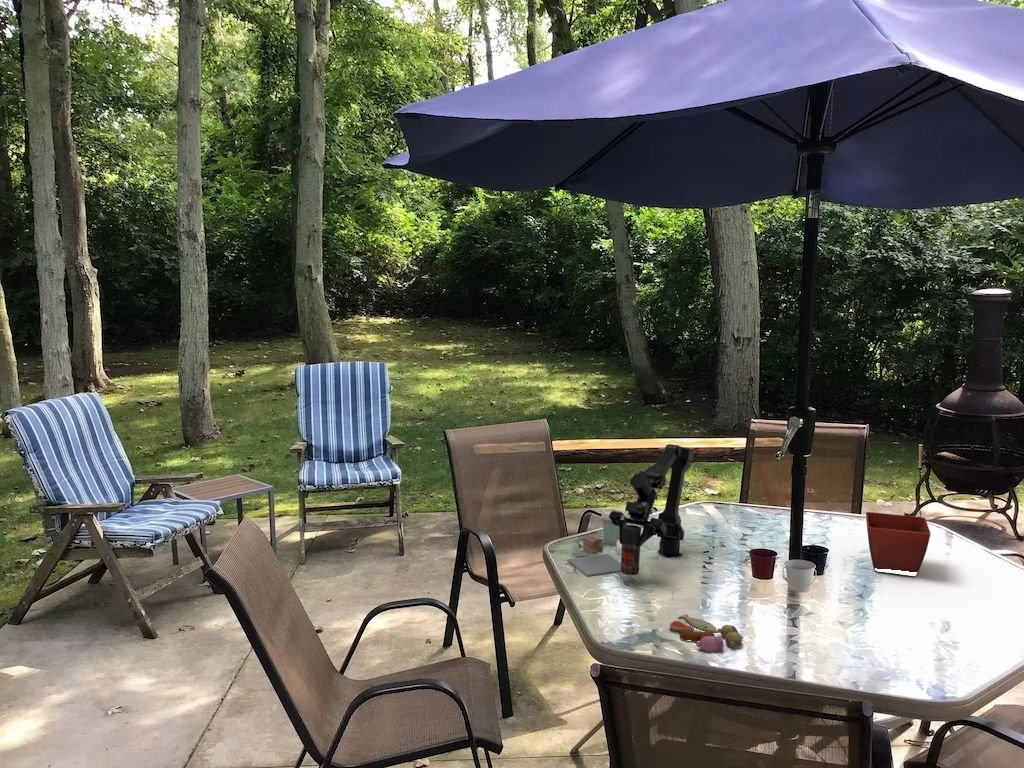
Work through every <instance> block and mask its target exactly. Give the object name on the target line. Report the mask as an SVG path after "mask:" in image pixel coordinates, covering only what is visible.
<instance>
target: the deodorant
mask: <svg viewBox="0 0 1024 768" xmlns="http://www.w3.org/2000/svg"><path fill="white" fill-rule="evenodd" d="M641 534H642V526H640V525H635V524H627V525H624V526H623V531H622V552H621V555H620V559H621V560H620V563H621V572H620V573H621V574H623V575H627V576H635V575H636V576H637V575H638V574H640V559H641V558H640V557H641V546H640V547H639V548H638V547H637V545H638V541H639V539H640V536H641Z"/></svg>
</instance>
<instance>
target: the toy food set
mask: <svg viewBox="0 0 1024 768" xmlns="http://www.w3.org/2000/svg"><path fill="white" fill-rule="evenodd" d="M678 619H684V620H685V621H686V622H687V623H688V624H689V625H690V626H688V625H687V624H686V622H685V621H682V620H673V621H672V622H670V624H669V632H670V631H671V632H670V633H673V632H675V633H674V634H677V633H680V634H679V638H681V639H683V640H691V641H700V642H695V643H696V644H695V645H696V647H697V648H700V649H701V651H703V650H705V651H715V652H723V651H724V647H725V646H724V643H725V645H726V646H727V645H728V646H727V647H729V646H731V647H738V646H739V647H741V645H742V642H743V636H742V635H741V634H740V633H739V631H738V629H737V627H736V626H734V625H732V624H723V625H722V627H721V628H719V627H718V628H716V626H715V625H713V623H711V622H709V621H706V620H703V619H699V618H695V617H691V616H689V615H688V614H683V615H680V616H679V617H678ZM684 622H685V623H684ZM691 626H692V627H691ZM693 627H694V628H696V629H699V630H702V631H705V632H699V631H697V630H695V629H694V628H693ZM676 632H677V633H676ZM713 633H717V634H720V635H721V636H720V635H719V636H718V635H717V636H716V634H713ZM723 637H724V638H726V639H725V640H723V639H724V638H723ZM681 639H680V640H681ZM683 640H682V641H683ZM724 641H725V642H724ZM731 647H730V648H731ZM739 647H738V648H739ZM705 651H704V652H705Z"/></svg>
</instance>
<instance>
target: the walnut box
mask: <svg viewBox="0 0 1024 768" xmlns="http://www.w3.org/2000/svg"><path fill="white" fill-rule="evenodd" d="M582 540H583V541H582V543H583V544H582V548H583V549H582V551H583V550H584V551H583V552H585V551H586V552H585V553H587V552H588V554H590V553H591V554H590V555H592V554H593V555H596V554H595V553H597V554H599V553H598V552H600V553H603V552H604V551H603V549H604V548H603V547H604V546H603V545H604V538H601V537H599V536H596V535H595V534H593V535H590V536H589V535H588V536H584V537H583V539H582ZM602 551H603V552H602Z"/></svg>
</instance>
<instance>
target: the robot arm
mask: <svg viewBox="0 0 1024 768" xmlns="http://www.w3.org/2000/svg"><path fill="white" fill-rule="evenodd" d="M694 457H695V454H694V451H692V449H691V448H690V447H688V448H687V447H682V446H680V445H679V444H671V443H668V444H666V445H665V447H664V451H663V452H662V453H661V455H660V456H659V458H658V459H657V460H656V462H655V463H654V465H651V466H648V467H647V468H646V469H645V470H639V472H638V473H636V474H634V475H633V476H632V477H631V478H630V481H629V483H630V486H631V488H632V489H633V491H634V493H635V495H637V498H636V500H634V501H628V500H626V504H625V508H624V509H625V510H624V512H627V515H628V516H625V514H624V512H623V511H622V512H623V513H622V512H618V511H611V512H610V515H609V518H610V520H611V521H612V523H613V524H614V525H616V526H619V530H620V544H622V531H623V526H624V525H628V524H629V525H636V526H640V527H642V531H641V536H640V539H639V541H638V545H637V547H638V548H639V547H640V548H641V546H643V545H644V544H645V543H646V542H647V541H648V540H650V539H651V538H652V537H654V536H656V537H657V538H660V540H659V543H658V544H659V546H658V547H659V550H657V553H659V554H661V555H662V556H664V557H665V558H673V557H678V556H679V557H680V556H683V554H682V553H681V552H680V550H681V549H680V548H681V547H680V546H681V541H683V540H684V538H685V530H684V529H683V526H682V518H681V516H680V513H679V510H680V502H681V498H682V490H683V485H684V481H685V474H686V472H687V471H688V470H689V469H690V468H691V467H692V466H691V465H692V462H693V460H694ZM670 469H671V473H670V480H669V484H668V488H667V489H668V490H667V495H666V501H665V506H664V510H663V511H661V512H659V514H658V515H657V516H658V517H651V518H650V521H649V517H650V516H652V515H653V511H652V509H653V507H654V504H655V501H657V500H658V498H659V497H658V493H657V491H656V489H657V490H661V489H663V487H664V486H665V485H666V483H667V479H666V478H667V477H666V475H667V473H668V472H669V470H670Z"/></svg>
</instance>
